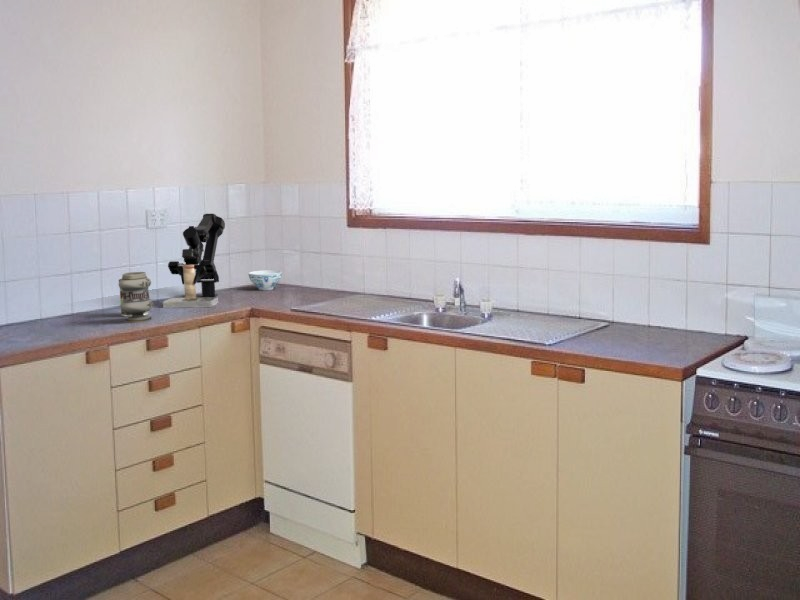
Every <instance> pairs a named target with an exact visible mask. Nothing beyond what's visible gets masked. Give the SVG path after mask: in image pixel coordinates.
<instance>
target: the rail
mask: <svg viewBox="0 0 800 600" xmlns="http://www.w3.org/2000/svg"><path fill="white" fill-rule="evenodd" d="M217 303H218V304H219V297H218V296H214V297H196V300H195V301H185V297H170V298H168V299H166V300H164V301H162V309H176V308H177V309H178V308H181V309H182V308H212V307H214V306H216V305H218V304H217Z"/></svg>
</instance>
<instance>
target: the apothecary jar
mask: <svg viewBox="0 0 800 600" xmlns="http://www.w3.org/2000/svg"><path fill="white" fill-rule="evenodd" d="M146 273H147V272H146V271H130V272H124V273H123V274H122V277H121V278H120V279H121V280H120V281H119V280H118V287H119V289H120V288H121V289H122V291H123V302H122V303H121V302H120V306H119V308H120V310H121V309H122V310H123V311H124V312H126V313H130V314H132V316H131V317H126V318H125V319H124V322H125V323H143V322H149V321H151V320H152V317H151V316H149V315H143V314H144V313H145V312H147V311H148V312H149V311H151V310H152V308H153V307H154V301H153V300H152V299H151V298H150V292H149V291H150V290H149V287H150V286H151V285H152V281H151V279H150V278H149V277H147V274H146Z"/></svg>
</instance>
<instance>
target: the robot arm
mask: <svg viewBox="0 0 800 600" xmlns="http://www.w3.org/2000/svg"><path fill="white" fill-rule="evenodd" d="M202 215H203V216H202V219H201V220H200V222H199V224H198V225H197V226H194V225H188V227H187V228H186V229H184V231H183V232H182V236H183V238H184V241H185V244H186V246H188V248H183V249H182V252H181V258H182V259H183V262H184V263H182V262H180V261H178V260H175V261H173V260H171V261H169V262H168V264H167V267H168V270H169V272H170V274H171V275H178V276H180V279H181V283H182V285H184V275H183V265H190V264H192V265H194V274H195V278H194V284H195V285H196V284H201V285H200V287H201V294H200V295H199V298H202V297H217V296H218V295H219V294H218V293H216V284H215V283H219V282H220V278H219V277H220V276H219V274H218V271H217V268H216V265H215V262H214V261H215V257H216V250H217V246H218V239H219V237H221V235H223V233H224V230H225V227H226V223H225V220H224V219H223V218H222V217H220V216H218V215H216V214H215V213H204V214H202ZM203 243H205V247H204V244H203ZM202 256H203V257H202Z"/></svg>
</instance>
